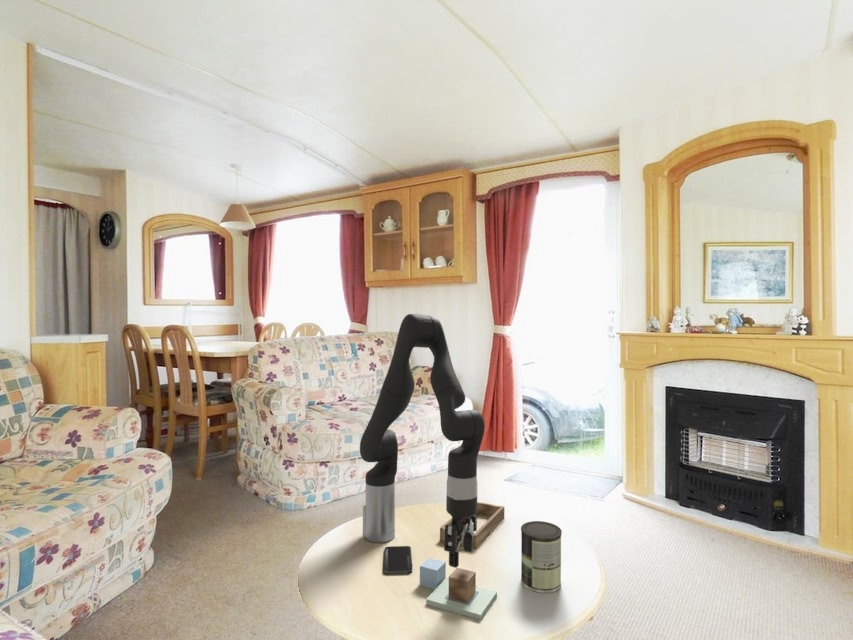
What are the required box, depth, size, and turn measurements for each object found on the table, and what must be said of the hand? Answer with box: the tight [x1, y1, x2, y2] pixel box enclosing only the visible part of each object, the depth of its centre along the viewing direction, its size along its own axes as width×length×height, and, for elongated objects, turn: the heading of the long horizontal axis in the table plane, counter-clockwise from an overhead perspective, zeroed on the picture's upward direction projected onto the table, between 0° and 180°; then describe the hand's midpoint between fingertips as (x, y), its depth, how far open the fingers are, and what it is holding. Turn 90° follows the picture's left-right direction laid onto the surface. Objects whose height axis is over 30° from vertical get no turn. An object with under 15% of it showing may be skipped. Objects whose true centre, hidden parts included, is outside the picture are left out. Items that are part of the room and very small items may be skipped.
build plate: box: [425, 577, 498, 621], centre depth 123 cm, size 14×11×1 cm
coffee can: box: [520, 520, 563, 594], centre depth 132 cm, size 10×10×14 cm
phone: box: [383, 545, 413, 576], centre depth 143 cm, size 8×1×15 cm
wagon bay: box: [439, 501, 505, 550], centre depth 165 cm, size 12×26×4 cm, turn 153°
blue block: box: [419, 557, 447, 590], centre depth 131 cm, size 5×5×5 cm
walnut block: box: [448, 567, 477, 603], centre depth 123 cm, size 5×5×5 cm
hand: (460, 558), depth 123 cm, fingers open, 8 cm apart
